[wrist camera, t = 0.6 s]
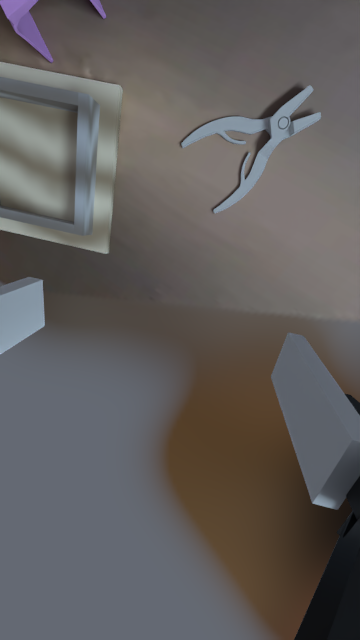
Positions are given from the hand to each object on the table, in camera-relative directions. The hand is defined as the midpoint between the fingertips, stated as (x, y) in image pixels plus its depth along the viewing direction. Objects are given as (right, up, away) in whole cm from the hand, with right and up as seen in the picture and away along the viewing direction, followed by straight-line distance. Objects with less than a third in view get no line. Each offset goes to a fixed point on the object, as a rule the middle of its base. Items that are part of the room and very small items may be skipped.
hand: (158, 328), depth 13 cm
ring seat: (-18, +22, +22) cm, 36 cm away
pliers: (+10, +22, +18) cm, 31 cm away
